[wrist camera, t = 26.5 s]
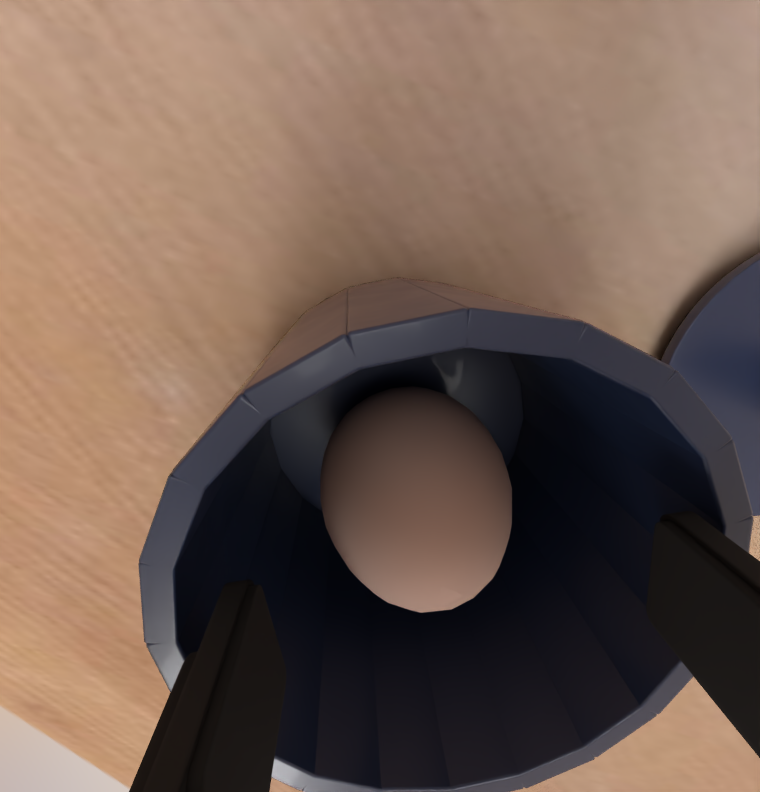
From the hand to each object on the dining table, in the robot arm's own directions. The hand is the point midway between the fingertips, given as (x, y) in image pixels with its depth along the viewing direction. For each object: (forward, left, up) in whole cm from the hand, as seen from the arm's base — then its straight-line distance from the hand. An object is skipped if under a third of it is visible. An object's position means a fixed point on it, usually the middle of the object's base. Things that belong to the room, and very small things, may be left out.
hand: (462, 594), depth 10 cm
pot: (0, 0, -11) cm, 11 cm away
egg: (+1, 0, -11) cm, 11 cm away
